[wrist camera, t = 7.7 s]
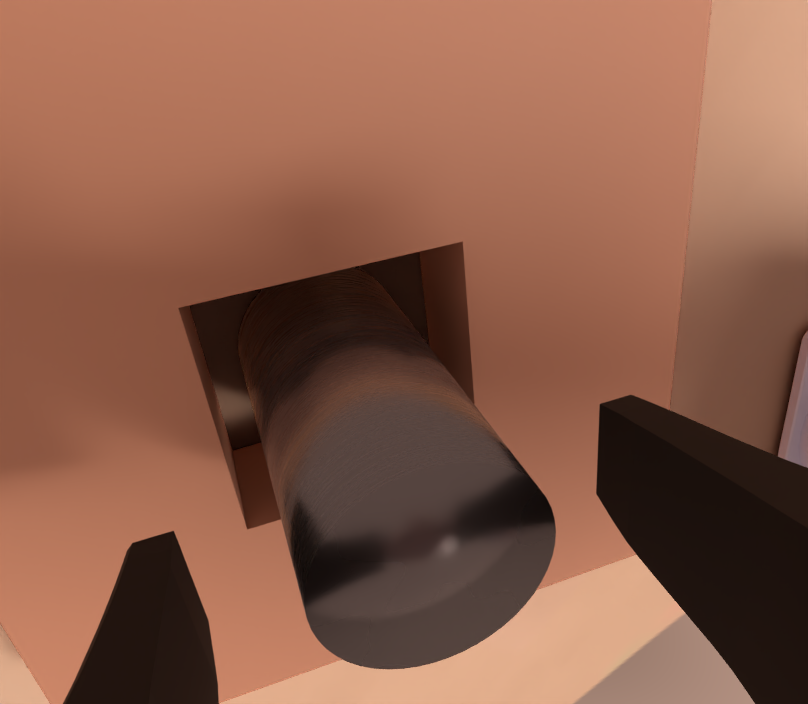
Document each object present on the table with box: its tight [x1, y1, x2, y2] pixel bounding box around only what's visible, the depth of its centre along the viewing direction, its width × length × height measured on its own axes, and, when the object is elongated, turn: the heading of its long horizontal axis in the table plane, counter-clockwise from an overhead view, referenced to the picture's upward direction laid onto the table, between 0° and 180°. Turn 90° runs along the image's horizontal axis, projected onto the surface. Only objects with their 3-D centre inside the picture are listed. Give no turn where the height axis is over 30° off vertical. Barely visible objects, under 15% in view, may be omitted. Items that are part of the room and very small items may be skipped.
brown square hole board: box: [0, 0, 712, 704], centre depth 16 cm, size 16×16×3 cm
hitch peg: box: [238, 267, 556, 669], centre depth 14 cm, size 4×4×8 cm
